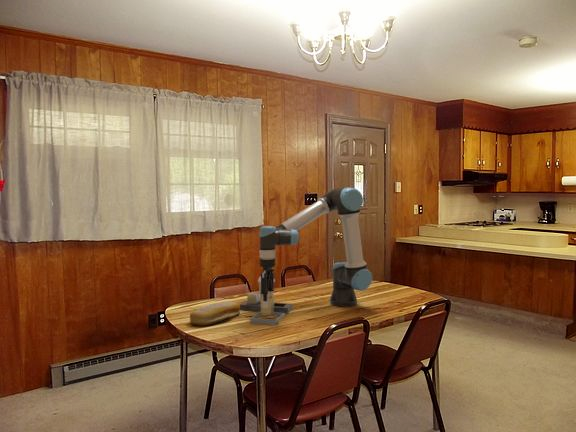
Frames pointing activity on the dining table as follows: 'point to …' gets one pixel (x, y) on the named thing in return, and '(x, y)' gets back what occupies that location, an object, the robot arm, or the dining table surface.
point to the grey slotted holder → (277, 307)
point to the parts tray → (266, 321)
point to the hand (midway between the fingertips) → (267, 306)
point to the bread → (215, 313)
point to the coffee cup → (260, 288)
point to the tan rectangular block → (271, 306)
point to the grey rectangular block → (253, 298)
